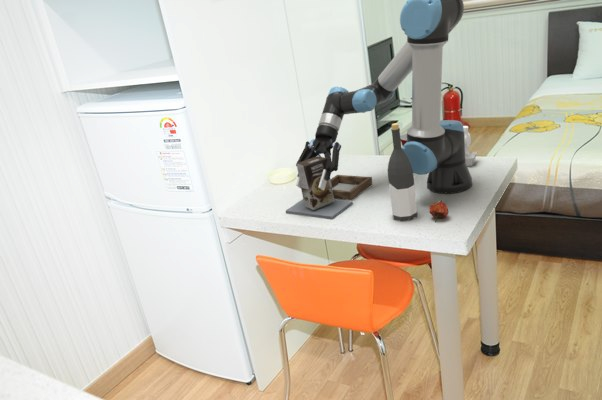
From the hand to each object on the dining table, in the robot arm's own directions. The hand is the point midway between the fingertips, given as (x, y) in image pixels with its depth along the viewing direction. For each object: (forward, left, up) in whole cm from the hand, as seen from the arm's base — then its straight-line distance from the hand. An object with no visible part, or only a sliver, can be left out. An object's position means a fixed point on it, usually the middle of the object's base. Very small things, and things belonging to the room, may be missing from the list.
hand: (309, 187), depth 174 cm
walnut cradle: (0, -20, -9) cm, 22 cm away
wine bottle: (-32, -5, -9) cm, 34 cm away
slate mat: (0, -3, -9) cm, 10 cm away
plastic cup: (-14, -52, -9) cm, 55 cm away
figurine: (-34, -54, -9) cm, 65 cm away
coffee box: (0, -3, -8) cm, 8 cm away
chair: (+28, -46, -9) cm, 55 cm away
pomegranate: (-43, -6, -9) cm, 44 cm away
